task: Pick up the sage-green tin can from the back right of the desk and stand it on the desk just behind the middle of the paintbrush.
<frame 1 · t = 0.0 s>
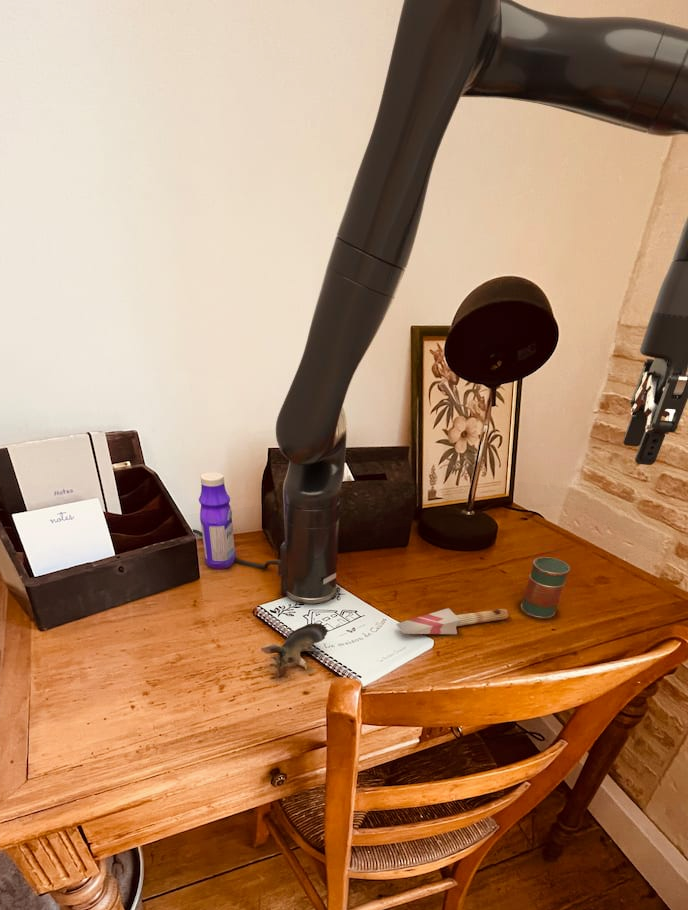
hand: (636, 454, 70), 29 cm above the table, tool pointing down, fingers open, 8 cm apart
tin can: (537, 610, 92), on the table
bottle: (221, 563, 103), on the table
paintbrush: (452, 628, 87), on the table
bushy tailed squirrel toy: (295, 664, 78), on the table
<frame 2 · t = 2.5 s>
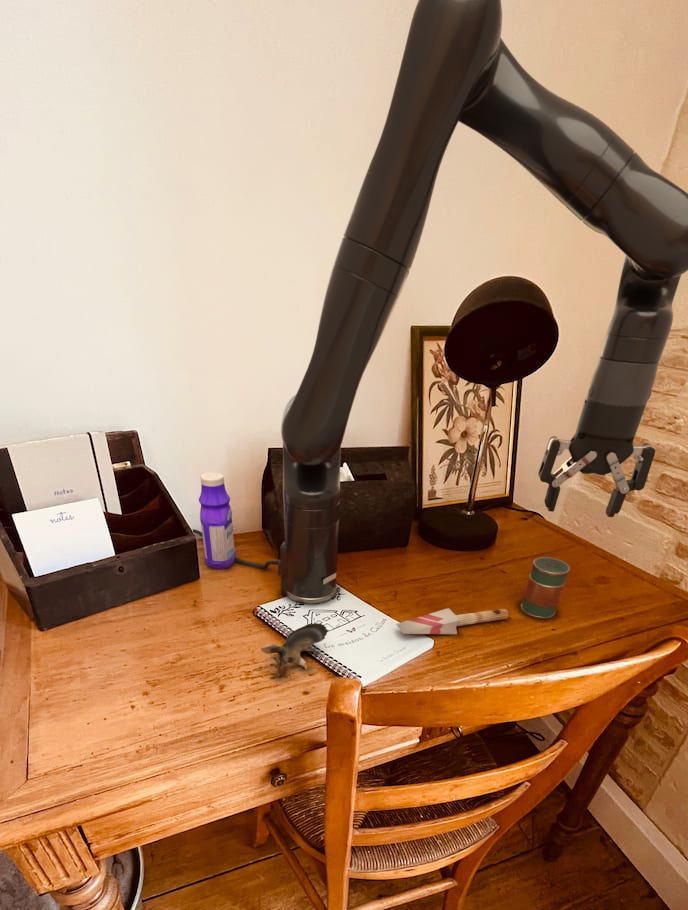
hand: (579, 512, 80), 19 cm above the table, tool pointing down, fingers open, 8 cm apart
nothing on the table moved.
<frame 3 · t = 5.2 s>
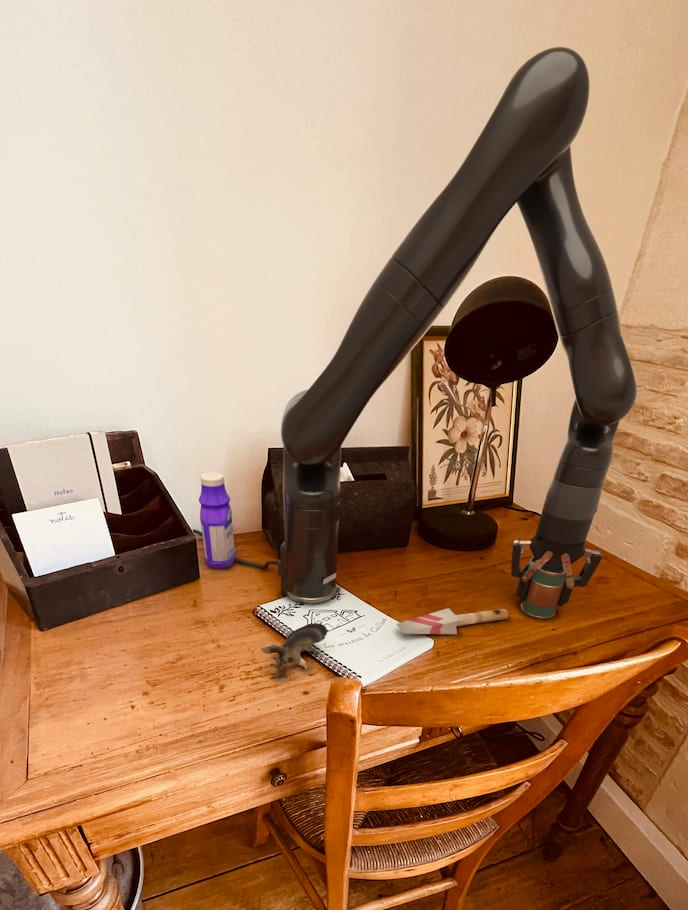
hand: (540, 600, 91), 2 cm above the table, tool pointing down, fingers closed on tin can, 5 cm apart
tin can: (537, 610, 92), on the table, touching gripper
everything else where it was.
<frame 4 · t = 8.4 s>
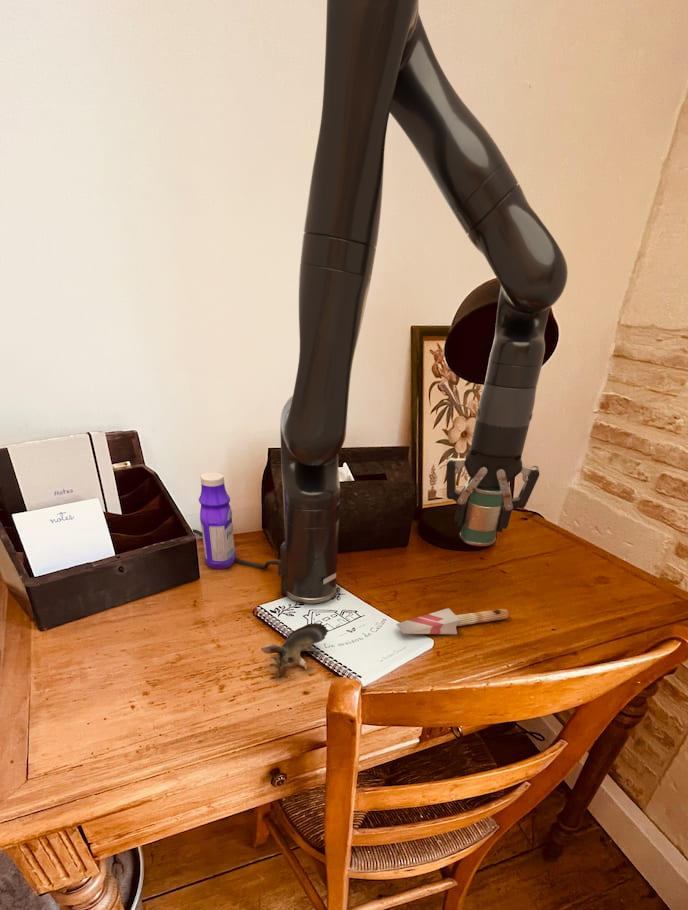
hand: (479, 526, 85), 15 cm above the table, tool pointing down, fingers closed on tin can, 5 cm apart
tin can: (477, 538, 86), point 12 cm above the table, touching gripper
everything else where it was.
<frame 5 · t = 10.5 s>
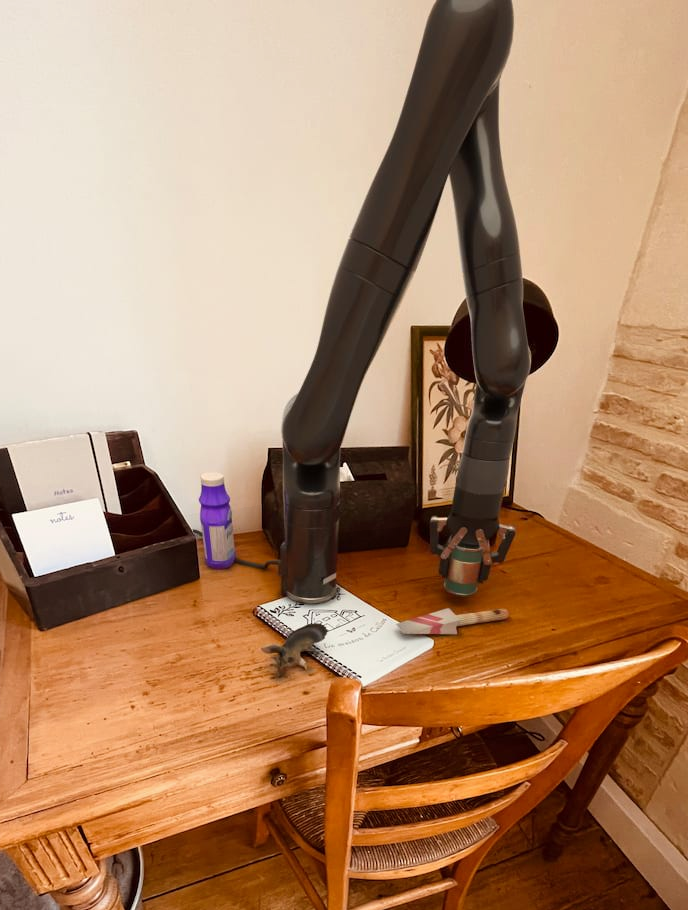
hand: (461, 578, 91), 5 cm above the table, tool pointing down, fingers closed on tin can, 5 cm apart
tin can: (460, 588, 92), point 3 cm above the table, touching gripper
everything else where it was.
when the fingers open (2 cm above the table, at t = 11.8 s): tin can stays where it is, on the table.
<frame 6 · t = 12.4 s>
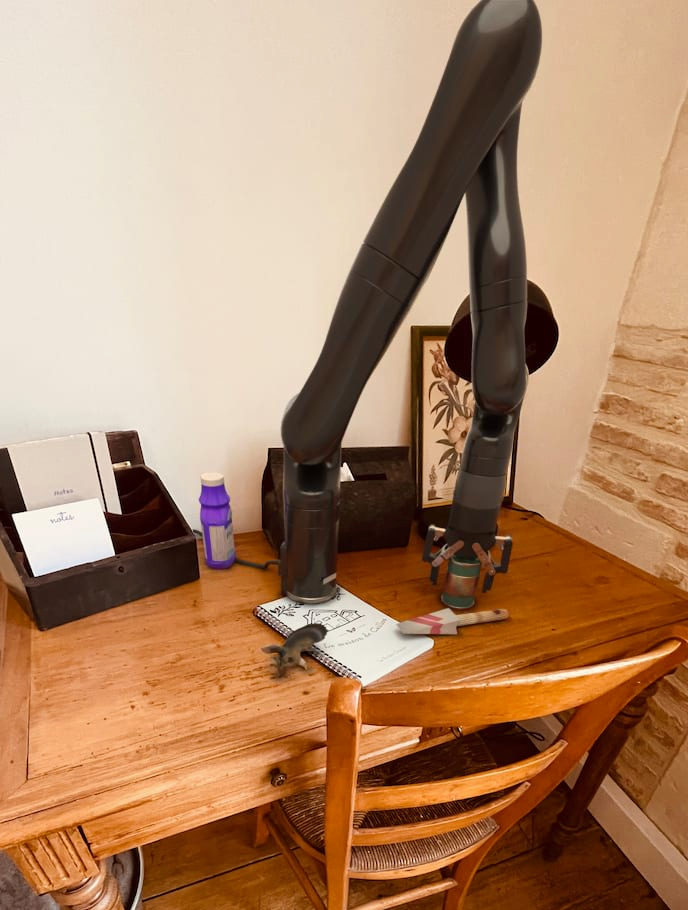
hand: (459, 587, 92), 3 cm above the table, tool pointing down, fingers open, 8 cm apart
tin can: (457, 601, 94), on the table
everything else where it was.
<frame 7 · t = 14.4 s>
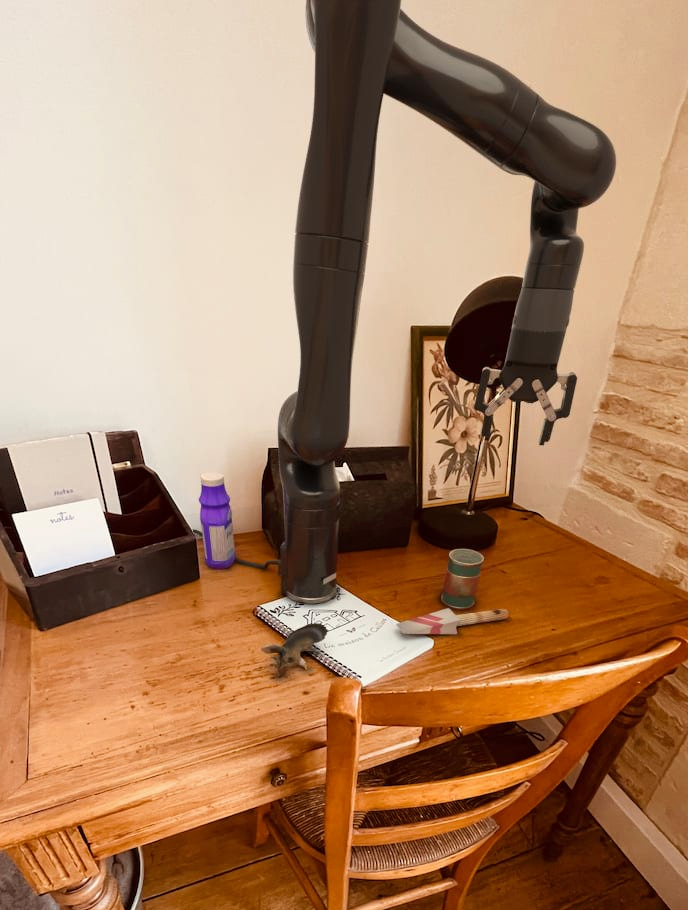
hand: (513, 441, 85), 26 cm above the table, tool pointing down, fingers open, 8 cm apart
nothing on the table moved.
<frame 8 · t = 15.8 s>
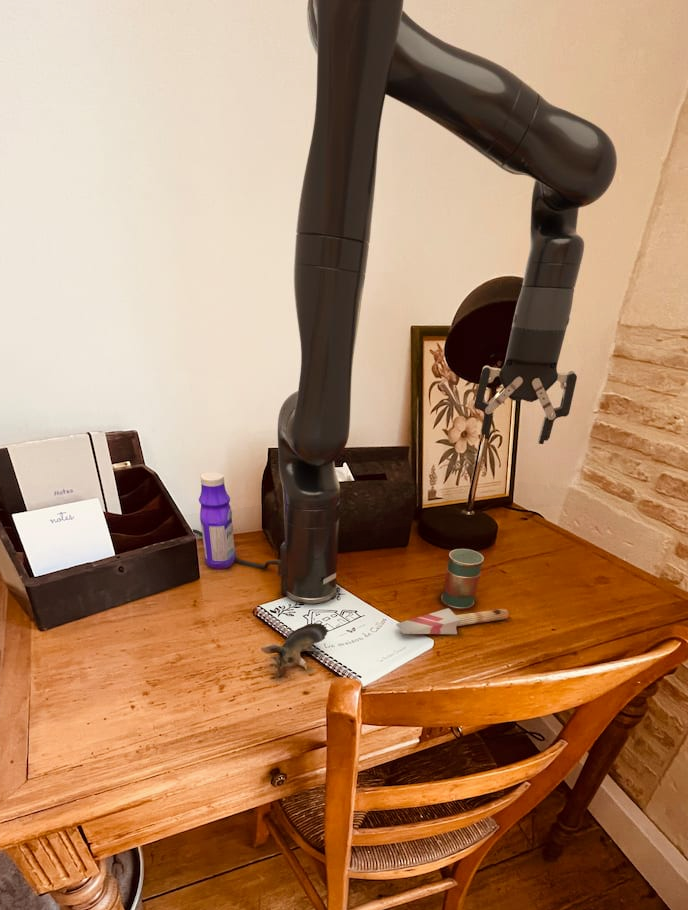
hand: (513, 440, 85), 26 cm above the table, tool pointing down, fingers open, 8 cm apart
nothing on the table moved.
at the end: tin can inside the target area on the table beside the paintbrush (0.7 cm from its centre), on the table; tin can tilted 0°; paintbrush moved 0.2 cm from its start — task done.
